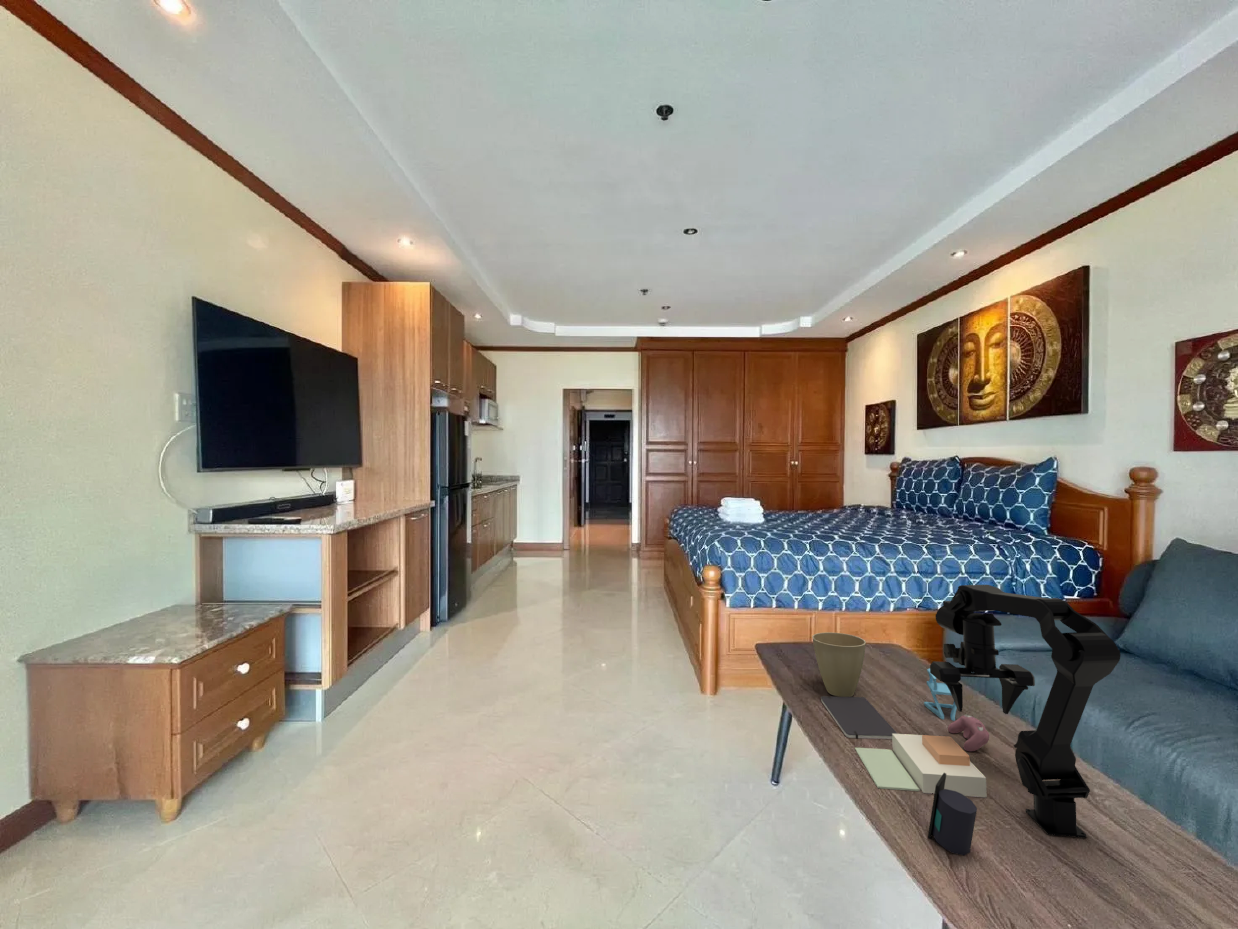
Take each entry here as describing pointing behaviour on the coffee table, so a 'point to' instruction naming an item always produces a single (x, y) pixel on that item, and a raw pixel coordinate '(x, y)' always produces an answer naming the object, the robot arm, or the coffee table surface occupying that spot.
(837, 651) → the plant pot
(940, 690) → the chair
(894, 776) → the mat
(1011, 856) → the coffee table surface
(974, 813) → the speaker
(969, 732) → the video game controller
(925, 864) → the coffee table surface
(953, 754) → the tile
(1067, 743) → the robot arm
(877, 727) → the notebook
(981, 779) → the cream flat block
